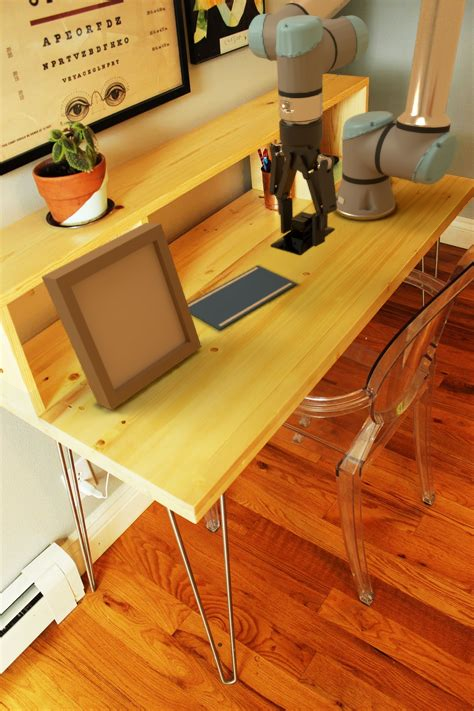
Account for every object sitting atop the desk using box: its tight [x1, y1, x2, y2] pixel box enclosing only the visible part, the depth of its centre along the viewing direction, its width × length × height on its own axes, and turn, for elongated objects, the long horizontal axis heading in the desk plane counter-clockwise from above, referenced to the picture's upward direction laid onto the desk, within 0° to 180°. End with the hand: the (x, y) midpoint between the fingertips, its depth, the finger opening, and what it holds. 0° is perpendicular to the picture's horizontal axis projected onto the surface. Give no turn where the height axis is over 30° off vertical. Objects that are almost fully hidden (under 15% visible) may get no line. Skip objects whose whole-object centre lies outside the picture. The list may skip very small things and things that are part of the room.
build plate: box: [270, 211, 336, 257], centre depth 121 cm, size 12×7×5 cm, turn 142°
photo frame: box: [41, 222, 202, 411], centre depth 110 cm, size 15×22×25 cm
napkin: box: [187, 265, 297, 331], centre depth 133 cm, size 22×12×1 cm, turn 132°
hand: (302, 237), depth 123 cm, fingers closed on build plate, 8 cm apart
